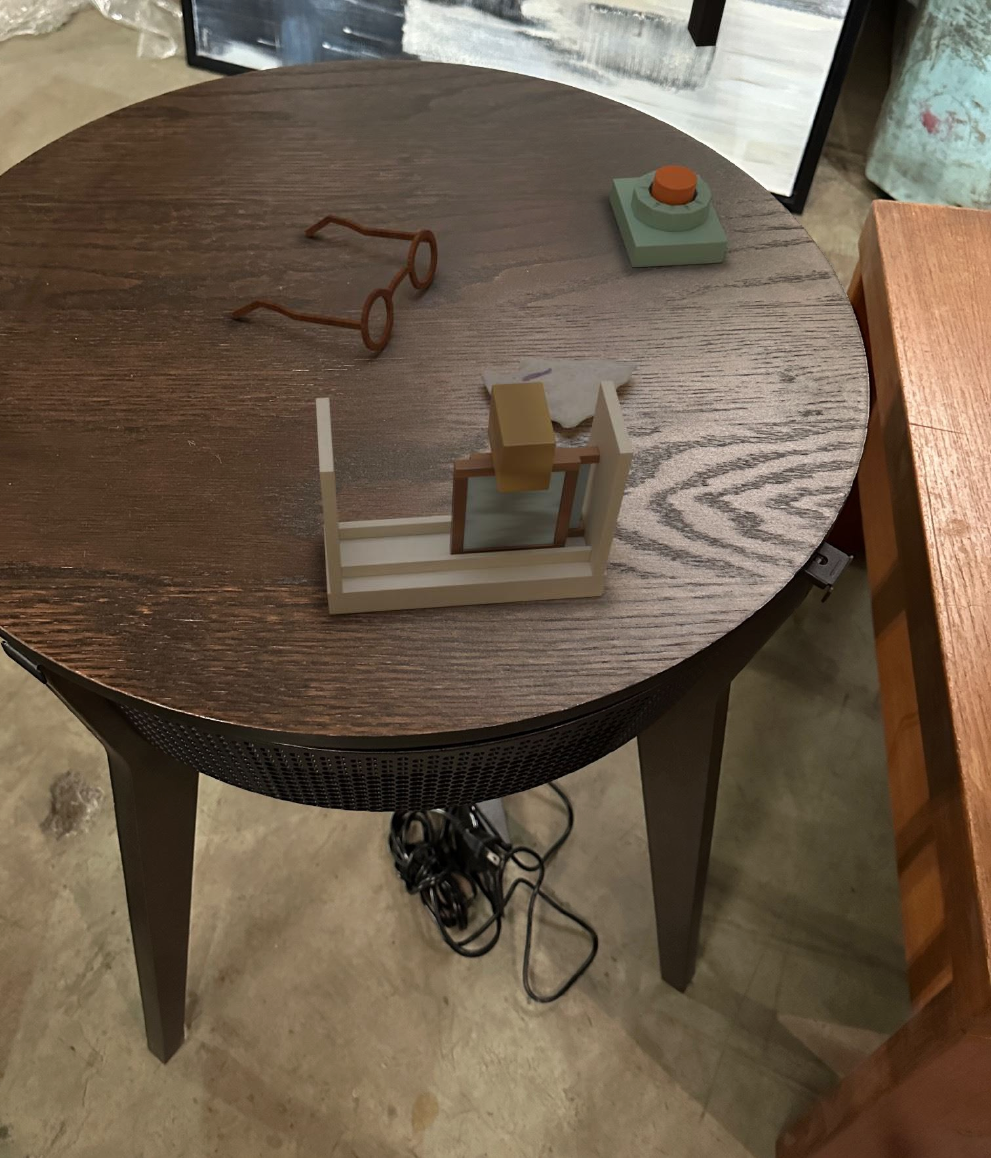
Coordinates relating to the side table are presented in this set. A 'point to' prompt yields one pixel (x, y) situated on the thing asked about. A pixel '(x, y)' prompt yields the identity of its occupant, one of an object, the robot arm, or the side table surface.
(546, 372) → the decorative stone
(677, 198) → the button
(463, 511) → the pane
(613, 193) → the button box
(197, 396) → the side table surface
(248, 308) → the glasses
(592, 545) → the window frame
